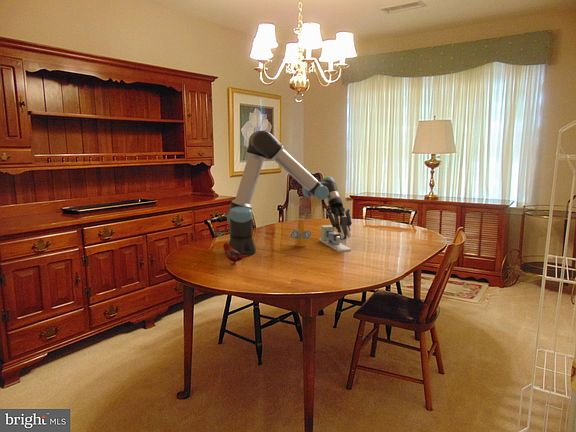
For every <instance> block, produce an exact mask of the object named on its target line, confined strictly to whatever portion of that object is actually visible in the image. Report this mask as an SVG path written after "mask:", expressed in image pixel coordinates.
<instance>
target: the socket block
mask: <svg viewBox="0 0 576 432" xmlns="http://www.w3.org/2000/svg"><path fill="white" fill-rule="evenodd" d="M335 229H336V227H333V226H332V224H329V225H328V224H326V225H325V224H324V225H320V239H322V240H323V241H328V232H333V231H335ZM335 232H336V231H335Z"/></svg>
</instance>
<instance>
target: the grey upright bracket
mask: <svg viewBox="0 0 576 432" xmlns="http://www.w3.org/2000/svg"><path fill="white" fill-rule="evenodd" d="M339 226H341V227H342V230H343V233H344V237H343V239H341V236H340V237H339V236H337V235H334V239H335V240H337V241H339V242H340V243H341V244H343V245H345V244H346V243H347V238H348V237H347V216H346V215H345V216H339Z"/></svg>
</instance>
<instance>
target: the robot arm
mask: <svg viewBox="0 0 576 432" xmlns="http://www.w3.org/2000/svg"><path fill="white" fill-rule="evenodd" d="M246 155H247V159H246V163H245V166H244V169H243V172H242V174H241V175H242V176H241V178H240V182H239V185H238V189H237V192H236V196H235V199H233V200H231V203H230V205H229V208H228V209H227V212H226V221H227V223H228V224H229V241H228V244H229V245H230V246H231V247H232V248H233V249H234V250H236V251H238V252H239V253H240V254H241V255H246V256H249V257H250V256H253V255H255V254H256V253H257V247H256V244H255V242H254V239H253V211H252V209H253V205H252V204H251V203H252V199H253V196H254V193H255V190H256V187H257V183H258V180H259V177H260V173H261V170H262V166H263V163H264V162H265V161H266V160H268V159H269V160H273V161H274V162H275V163H276V164H277V165H279V166H280V167H281V168H282V169H283V170H284V171H285V172H286V173H288V174H289V175H290V176H291V177H292V178H293V179H294V180H295V181H297V183H299V184H300V185H301V187H302V189H301V190H302V191H301V192H302V195H303V196H304V197H313V198H315V199H317V200H320V201H321V200H326V202H327V204H328V205H327V206H328V207H329V209H328V210H326V212H325V214H326V216H327V217H328V219H329V221H330V225H332V226H333V227H335V229H336V232H337V233H339V234H340V236H341V239H343V237H344V233H343V230H342V227H341V226H340V218H339V217H340V216H347V238H348V239H350V237H351V236H352V235H351V234H352V233H351V228H350V227H351V225H352V218H351V214H350V209H349V208H347V209H345V207H344V204H343V201H342V199H341V195H340V192H339V190H338V187H337V183H336V181H335V179H334V178H333V177H332V176H327V177H323V178H322V179H321V181H319V180H318V179H317V178H316V177H314V175H312V174H311V173H310V172H309V171H308V170H307V169H306V168H305V167H304V166H303V165H301V163H299V162H298V161H297V160H296V159H295V158H294V157H293V156H292V155H291V154H289V152H287V150H285V149H284V145H283V144H282V143H281V142H280V141H279V140H278V139H277V138H276V137H275V136H274V135H273V134H272V133H271V132H269V131H268V130H257V131H254V132H253V133H252V134H251V135H250V136H249V137H248V146H247V149H246Z"/></svg>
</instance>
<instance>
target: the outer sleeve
mask: <svg viewBox="0 0 576 432" xmlns="http://www.w3.org/2000/svg"><path fill="white" fill-rule="evenodd" d="M334 235H337V236H339V237H340V233H338V231H333V232H328V242H329V243H332V245H339V244H340V243H341V242H339V241H337V240H335V239H334Z"/></svg>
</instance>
